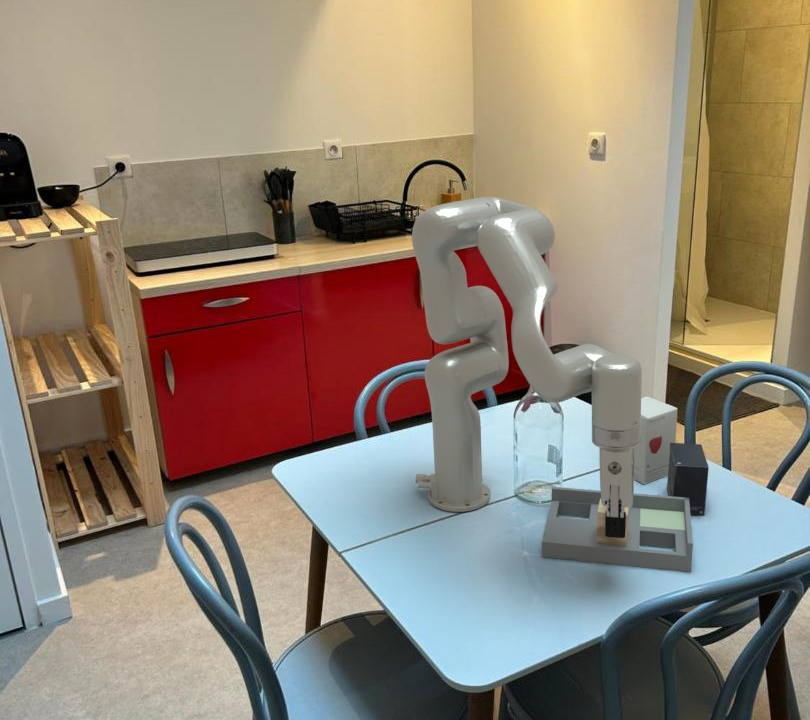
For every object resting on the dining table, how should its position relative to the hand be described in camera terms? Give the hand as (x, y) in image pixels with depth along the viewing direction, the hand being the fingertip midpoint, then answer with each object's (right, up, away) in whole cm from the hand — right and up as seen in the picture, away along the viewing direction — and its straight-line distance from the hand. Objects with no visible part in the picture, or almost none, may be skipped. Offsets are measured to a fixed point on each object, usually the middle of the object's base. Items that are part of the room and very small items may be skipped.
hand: (615, 534), depth 136 cm
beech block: (+2, -2, +9) cm, 9 cm away
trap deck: (+4, -4, +13) cm, 14 cm away
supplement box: (+16, +5, +38) cm, 41 cm away
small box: (+20, +1, +25) cm, 32 cm away
